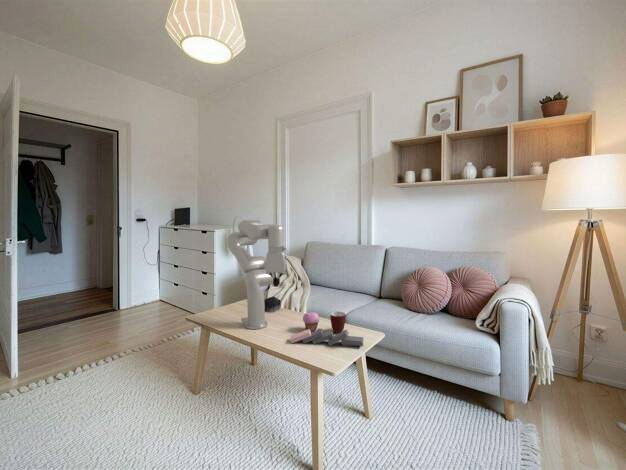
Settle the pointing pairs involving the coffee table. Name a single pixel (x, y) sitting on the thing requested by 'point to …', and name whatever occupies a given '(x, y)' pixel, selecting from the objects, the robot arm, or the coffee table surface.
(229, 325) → the coffee table surface
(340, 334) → the domino
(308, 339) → the domino
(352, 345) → the domino
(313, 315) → the cupcake
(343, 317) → the mug
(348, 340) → the domino
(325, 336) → the domino
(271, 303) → the crystal cluster
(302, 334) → the rose domino
